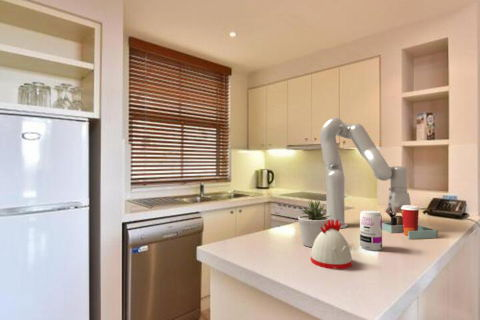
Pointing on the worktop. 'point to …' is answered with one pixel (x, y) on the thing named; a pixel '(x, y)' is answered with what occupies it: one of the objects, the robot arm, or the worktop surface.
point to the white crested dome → (331, 248)
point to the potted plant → (312, 223)
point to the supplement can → (371, 230)
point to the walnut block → (399, 220)
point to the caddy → (420, 234)
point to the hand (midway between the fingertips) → (398, 224)
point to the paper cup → (410, 218)
